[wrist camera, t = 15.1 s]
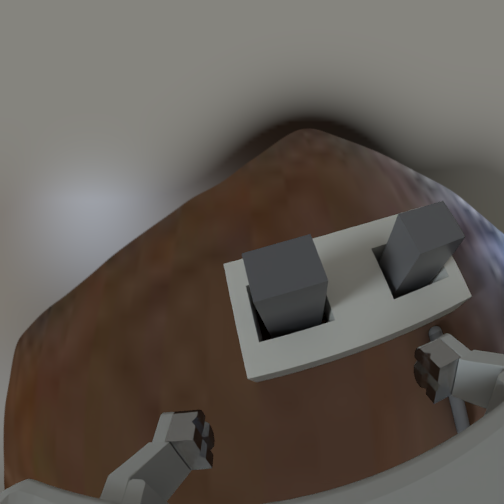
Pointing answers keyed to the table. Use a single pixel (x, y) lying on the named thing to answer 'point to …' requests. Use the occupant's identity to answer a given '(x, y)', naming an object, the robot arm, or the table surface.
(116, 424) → the table surface
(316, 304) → the plug
